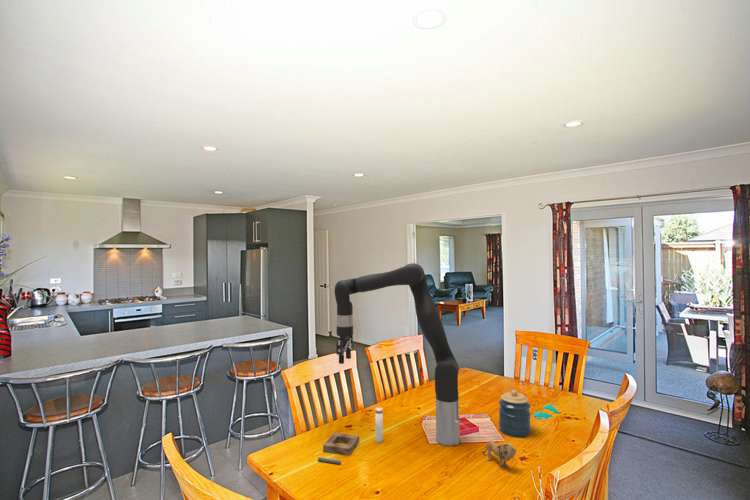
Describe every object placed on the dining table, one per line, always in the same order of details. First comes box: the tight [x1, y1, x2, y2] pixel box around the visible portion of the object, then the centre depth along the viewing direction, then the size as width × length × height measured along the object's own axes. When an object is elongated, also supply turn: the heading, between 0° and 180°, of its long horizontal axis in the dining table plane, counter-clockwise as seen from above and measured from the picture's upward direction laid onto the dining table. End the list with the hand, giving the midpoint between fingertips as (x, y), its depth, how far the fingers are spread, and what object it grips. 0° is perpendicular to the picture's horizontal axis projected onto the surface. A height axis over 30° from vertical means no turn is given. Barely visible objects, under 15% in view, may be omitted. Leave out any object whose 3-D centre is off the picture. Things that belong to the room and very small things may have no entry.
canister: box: [498, 389, 532, 438], centre depth 166 cm, size 13×13×18 cm
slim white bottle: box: [374, 407, 384, 443], centre depth 158 cm, size 3×3×13 cm
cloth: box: [533, 403, 560, 420], centre depth 185 cm, size 26×14×2 cm, turn 123°
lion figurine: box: [481, 439, 518, 470], centre depth 140 cm, size 15×5×9 cm, turn 34°
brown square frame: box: [322, 432, 360, 456], centre depth 153 cm, size 11×11×2 cm
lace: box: [317, 456, 342, 465], centre depth 141 cm, size 9×1×1 cm, turn 73°
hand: (345, 361), depth 171 cm, fingers open, 8 cm apart
